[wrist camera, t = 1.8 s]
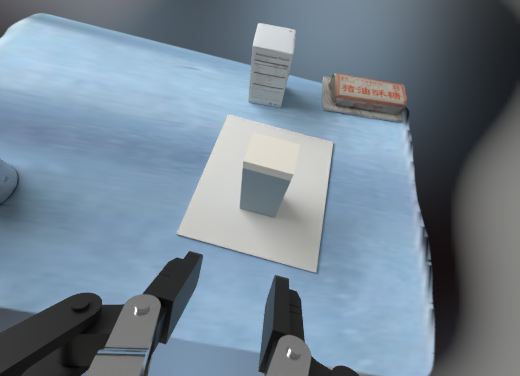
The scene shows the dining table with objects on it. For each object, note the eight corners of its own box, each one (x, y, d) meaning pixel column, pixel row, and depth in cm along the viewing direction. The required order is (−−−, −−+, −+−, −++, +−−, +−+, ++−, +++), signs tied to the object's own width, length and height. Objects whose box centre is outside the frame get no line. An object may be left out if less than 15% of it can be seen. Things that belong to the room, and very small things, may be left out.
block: (239, 208, 40) (243, 160, 28) (246, 185, 43) (253, 132, 30) (274, 218, 40) (293, 174, 28) (280, 194, 42) (300, 144, 30)
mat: (177, 234, 38) (176, 233, 37) (228, 115, 50) (228, 114, 50) (315, 273, 37) (316, 272, 37) (332, 143, 50) (333, 142, 49)
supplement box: (252, 80, 56) (258, 21, 45) (284, 86, 56) (297, 29, 45) (247, 102, 52) (251, 45, 41) (281, 109, 53) (294, 53, 42)
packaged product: (405, 76, 55) (414, 108, 51) (393, 93, 60) (399, 124, 55) (328, 63, 55) (329, 94, 50) (321, 81, 59) (321, 112, 54)
